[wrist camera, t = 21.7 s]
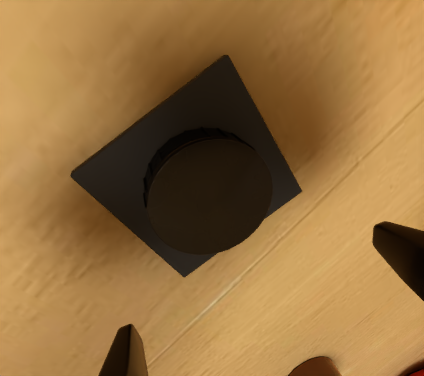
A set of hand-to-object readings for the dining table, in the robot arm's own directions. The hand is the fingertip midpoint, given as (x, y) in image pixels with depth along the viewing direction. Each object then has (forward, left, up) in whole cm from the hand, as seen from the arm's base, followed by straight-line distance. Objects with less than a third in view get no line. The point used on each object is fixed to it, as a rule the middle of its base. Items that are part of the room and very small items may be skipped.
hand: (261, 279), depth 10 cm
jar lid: (0, 0, -6) cm, 6 cm away
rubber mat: (0, 0, -9) cm, 9 cm away
